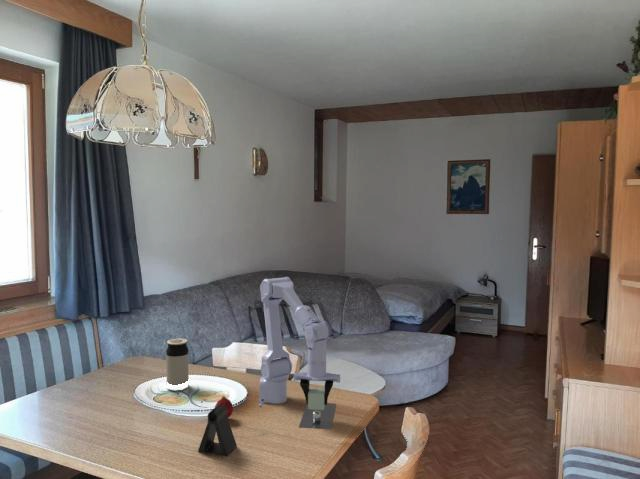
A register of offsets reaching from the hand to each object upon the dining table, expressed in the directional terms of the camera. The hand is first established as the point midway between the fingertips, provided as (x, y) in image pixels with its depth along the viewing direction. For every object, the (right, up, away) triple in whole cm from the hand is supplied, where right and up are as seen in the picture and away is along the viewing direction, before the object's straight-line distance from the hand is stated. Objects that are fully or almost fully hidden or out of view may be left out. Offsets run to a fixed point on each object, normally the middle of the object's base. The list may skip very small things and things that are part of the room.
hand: (316, 403), depth 155 cm
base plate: (+1, -7, +5) cm, 9 cm away
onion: (-30, -7, +4) cm, 31 cm away
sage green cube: (0, -1, 0) cm, 1 cm away
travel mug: (-53, -5, +32) cm, 62 cm away
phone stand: (-28, -8, -16) cm, 33 cm away
